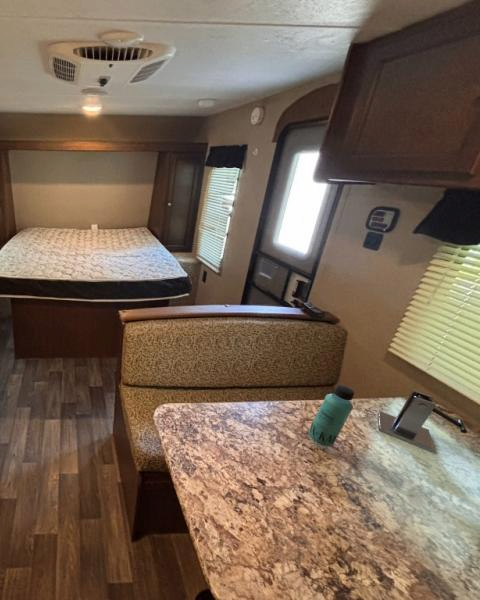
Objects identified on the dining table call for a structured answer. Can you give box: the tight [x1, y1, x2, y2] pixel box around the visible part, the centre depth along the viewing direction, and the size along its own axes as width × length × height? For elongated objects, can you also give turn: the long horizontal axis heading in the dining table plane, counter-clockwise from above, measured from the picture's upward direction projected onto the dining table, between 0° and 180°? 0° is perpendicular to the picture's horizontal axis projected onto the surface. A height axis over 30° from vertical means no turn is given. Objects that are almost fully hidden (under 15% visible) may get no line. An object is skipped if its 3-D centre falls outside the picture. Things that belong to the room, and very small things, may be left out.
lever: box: [412, 395, 468, 434], centre depth 92 cm, size 12×5×2 cm, turn 50°
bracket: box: [377, 389, 437, 453], centre depth 96 cm, size 12×10×14 cm
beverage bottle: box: [308, 384, 355, 447], centre depth 90 cm, size 6×7×20 cm
